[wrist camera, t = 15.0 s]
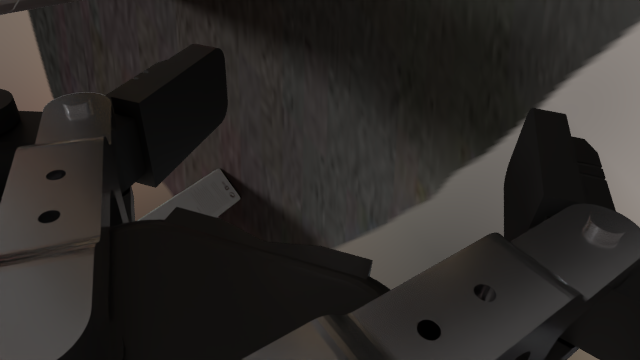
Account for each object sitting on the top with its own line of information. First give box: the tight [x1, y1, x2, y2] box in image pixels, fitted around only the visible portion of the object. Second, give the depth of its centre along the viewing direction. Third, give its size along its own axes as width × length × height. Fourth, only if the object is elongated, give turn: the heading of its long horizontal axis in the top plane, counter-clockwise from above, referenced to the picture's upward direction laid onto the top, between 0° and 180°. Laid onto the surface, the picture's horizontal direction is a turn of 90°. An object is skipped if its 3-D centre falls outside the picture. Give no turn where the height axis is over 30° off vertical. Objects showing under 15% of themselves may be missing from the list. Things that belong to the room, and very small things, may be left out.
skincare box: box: [137, 169, 240, 221], centre depth 47 cm, size 6×4×12 cm
